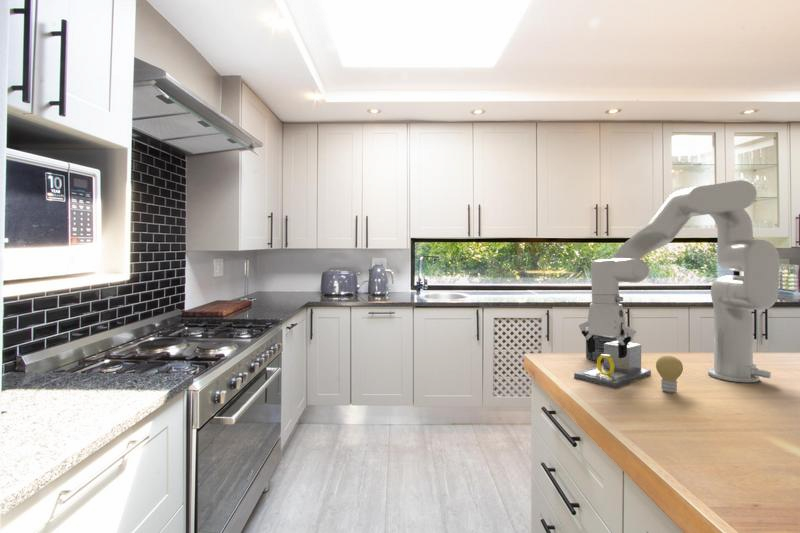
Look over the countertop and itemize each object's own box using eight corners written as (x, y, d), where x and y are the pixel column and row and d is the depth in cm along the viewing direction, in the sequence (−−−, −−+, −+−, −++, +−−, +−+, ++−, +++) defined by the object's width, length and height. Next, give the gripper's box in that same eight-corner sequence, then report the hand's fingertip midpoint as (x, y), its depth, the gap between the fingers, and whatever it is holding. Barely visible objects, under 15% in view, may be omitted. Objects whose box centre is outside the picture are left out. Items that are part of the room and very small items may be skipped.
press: (650, 374, 135) (651, 345, 135) (615, 388, 122) (615, 355, 122) (610, 366, 146) (610, 338, 145) (574, 377, 133) (574, 347, 132)
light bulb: (674, 396, 115) (674, 359, 114) (650, 389, 120) (651, 355, 120) (687, 392, 117) (687, 357, 117) (664, 386, 123) (664, 352, 123)
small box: (614, 357, 158) (614, 329, 157) (622, 362, 151) (622, 332, 151) (585, 357, 159) (585, 329, 158) (591, 361, 152) (591, 332, 152)
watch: (594, 372, 133) (594, 353, 133) (601, 371, 134) (601, 353, 134) (609, 376, 127) (608, 356, 128) (616, 375, 128) (616, 355, 129)
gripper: (640, 300, 125) (641, 357, 126) (585, 296, 139) (587, 348, 140) (627, 302, 121) (629, 362, 121) (572, 299, 135) (574, 352, 136)
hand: (606, 354), depth 131 cm, fingers open, 9 cm apart
